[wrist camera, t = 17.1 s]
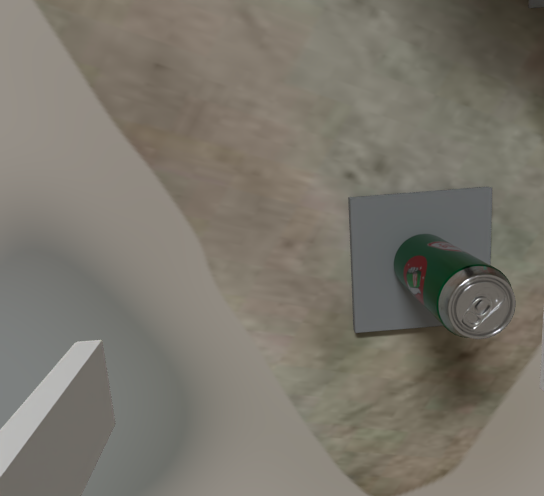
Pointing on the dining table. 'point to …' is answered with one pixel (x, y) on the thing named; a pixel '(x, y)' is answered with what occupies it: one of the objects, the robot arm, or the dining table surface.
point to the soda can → (455, 286)
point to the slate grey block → (536, 3)
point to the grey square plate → (390, 236)
